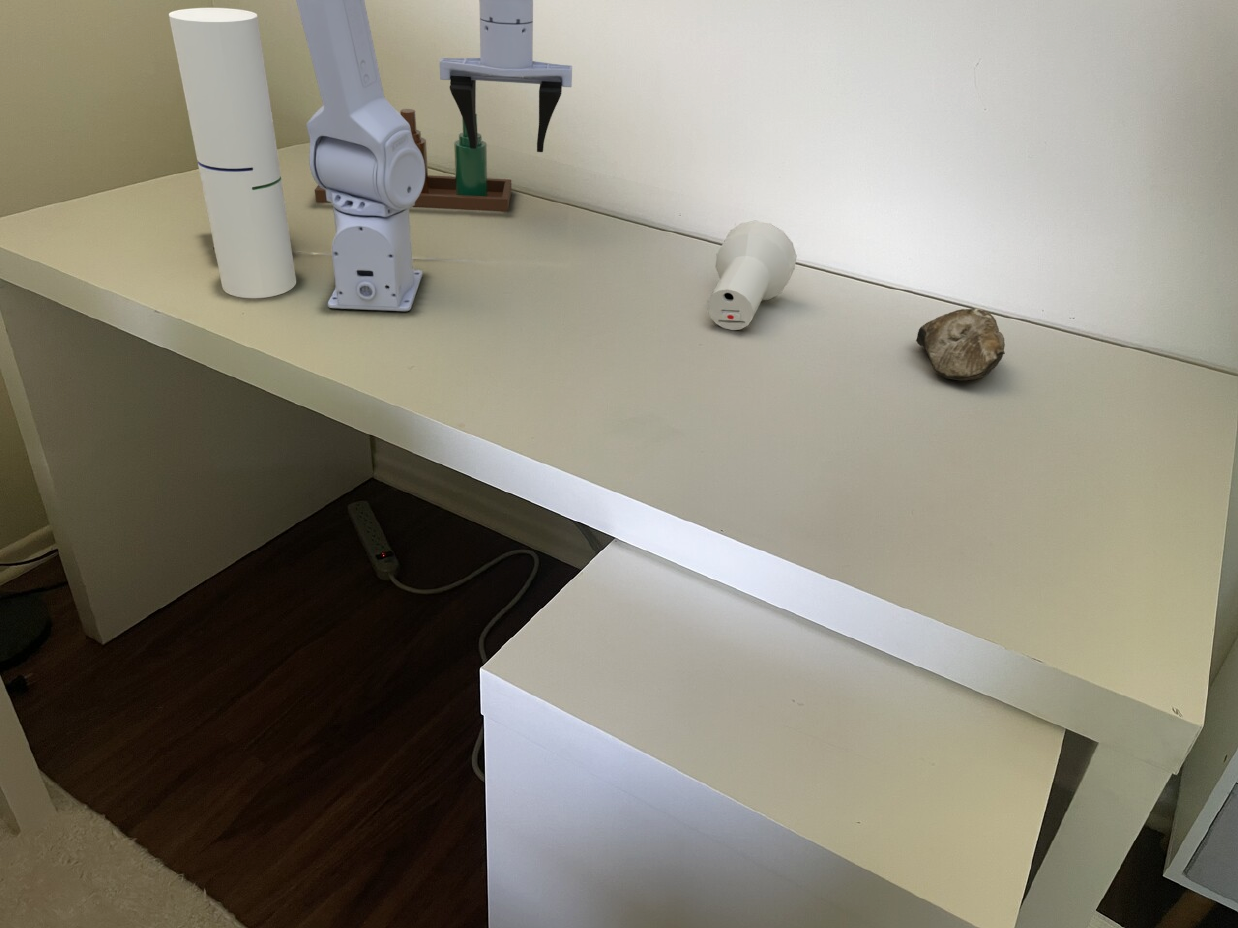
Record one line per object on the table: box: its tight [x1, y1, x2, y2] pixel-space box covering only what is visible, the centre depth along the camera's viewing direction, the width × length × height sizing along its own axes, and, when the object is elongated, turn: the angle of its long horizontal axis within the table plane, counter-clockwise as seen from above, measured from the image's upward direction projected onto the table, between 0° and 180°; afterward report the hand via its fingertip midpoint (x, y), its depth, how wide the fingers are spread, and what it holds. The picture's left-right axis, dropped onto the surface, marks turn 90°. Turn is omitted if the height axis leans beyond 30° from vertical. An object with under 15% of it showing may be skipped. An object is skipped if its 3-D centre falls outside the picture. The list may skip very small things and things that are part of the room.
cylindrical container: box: [168, 7, 297, 299], centre depth 86 cm, size 7×7×25 cm
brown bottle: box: [399, 108, 429, 194], centre depth 114 cm, size 4×4×10 cm
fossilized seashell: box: [915, 308, 1006, 382], centre depth 87 cm, size 8×7×10 cm
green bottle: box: [453, 113, 488, 197], centre depth 114 cm, size 4×4×10 cm
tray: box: [314, 174, 512, 213], centre depth 117 cm, size 8×24×2 cm, turn 92°
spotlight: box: [706, 220, 797, 331], centre depth 93 cm, size 8×11×8 cm
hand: (507, 148), depth 106 cm, fingers open, 7 cm apart
